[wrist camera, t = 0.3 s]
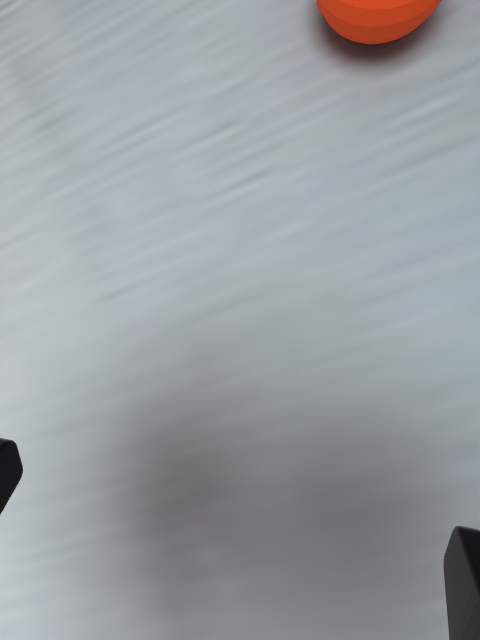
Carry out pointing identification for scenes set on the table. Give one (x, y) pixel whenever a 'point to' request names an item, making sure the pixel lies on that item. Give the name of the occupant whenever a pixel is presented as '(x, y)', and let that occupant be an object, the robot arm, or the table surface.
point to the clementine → (375, 18)
